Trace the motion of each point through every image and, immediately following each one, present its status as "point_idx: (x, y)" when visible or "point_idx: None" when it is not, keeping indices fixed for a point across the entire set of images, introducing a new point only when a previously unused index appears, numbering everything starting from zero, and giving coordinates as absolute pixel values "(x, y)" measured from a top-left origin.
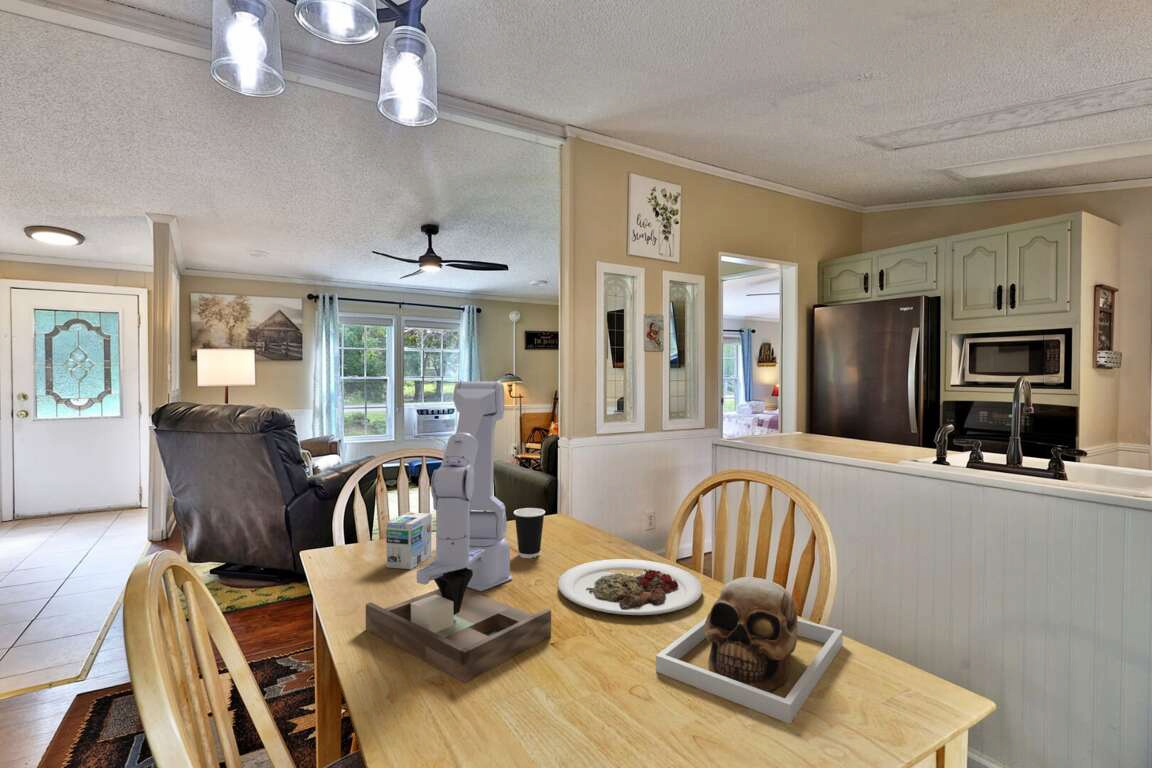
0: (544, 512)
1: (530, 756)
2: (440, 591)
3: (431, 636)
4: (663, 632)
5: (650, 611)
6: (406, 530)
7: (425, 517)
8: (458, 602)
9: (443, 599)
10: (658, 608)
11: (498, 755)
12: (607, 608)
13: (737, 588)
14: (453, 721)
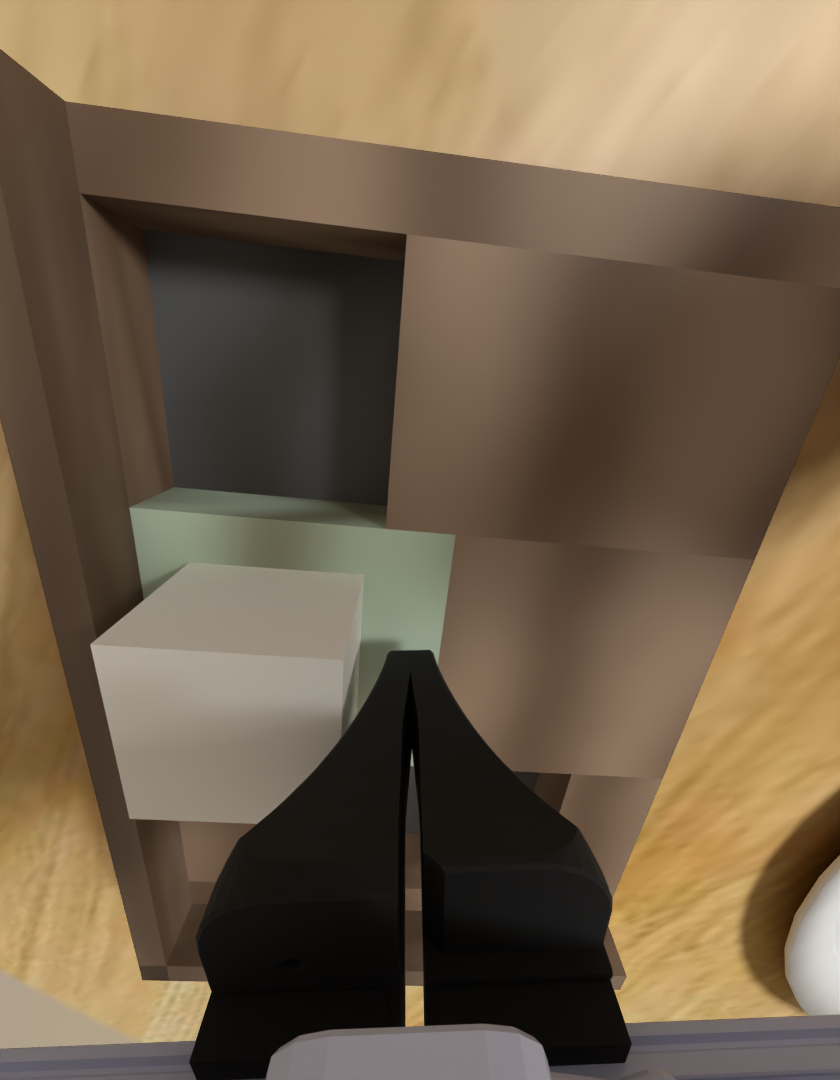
0: None
1: (142, 1039)
2: (340, 741)
3: (107, 841)
4: (729, 1018)
5: (828, 1009)
6: None
7: None
8: (409, 774)
9: (316, 766)
10: None
11: (96, 1014)
12: (825, 925)
13: None
14: (78, 922)
